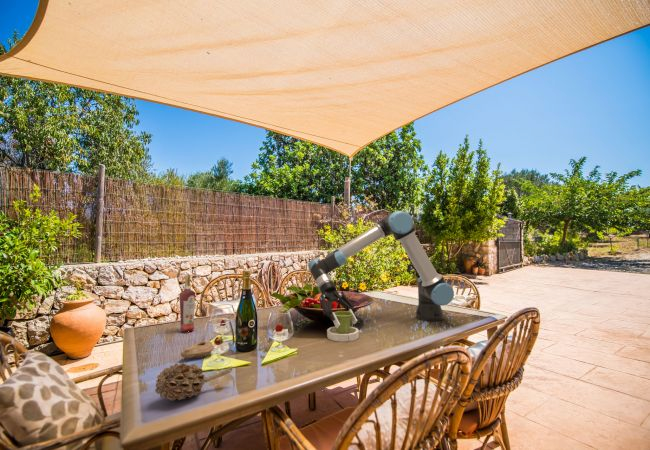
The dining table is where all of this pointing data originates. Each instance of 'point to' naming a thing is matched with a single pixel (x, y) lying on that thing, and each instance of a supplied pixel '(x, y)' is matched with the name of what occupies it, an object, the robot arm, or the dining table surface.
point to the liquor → (187, 306)
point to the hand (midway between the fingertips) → (347, 324)
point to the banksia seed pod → (183, 381)
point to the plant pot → (343, 321)
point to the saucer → (343, 335)
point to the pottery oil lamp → (198, 350)
